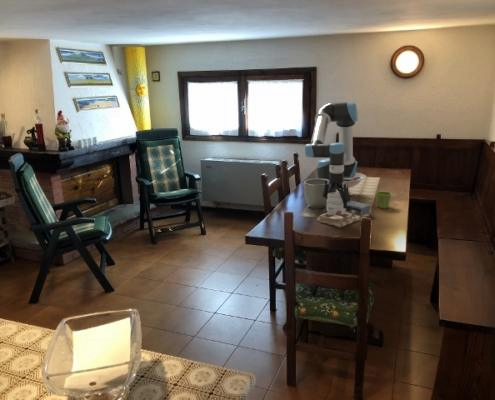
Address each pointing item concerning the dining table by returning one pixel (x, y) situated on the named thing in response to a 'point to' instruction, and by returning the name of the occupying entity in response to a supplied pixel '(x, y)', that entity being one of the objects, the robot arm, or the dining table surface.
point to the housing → (359, 207)
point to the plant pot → (383, 199)
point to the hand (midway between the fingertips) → (335, 211)
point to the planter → (315, 192)
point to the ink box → (334, 204)
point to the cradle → (342, 217)
